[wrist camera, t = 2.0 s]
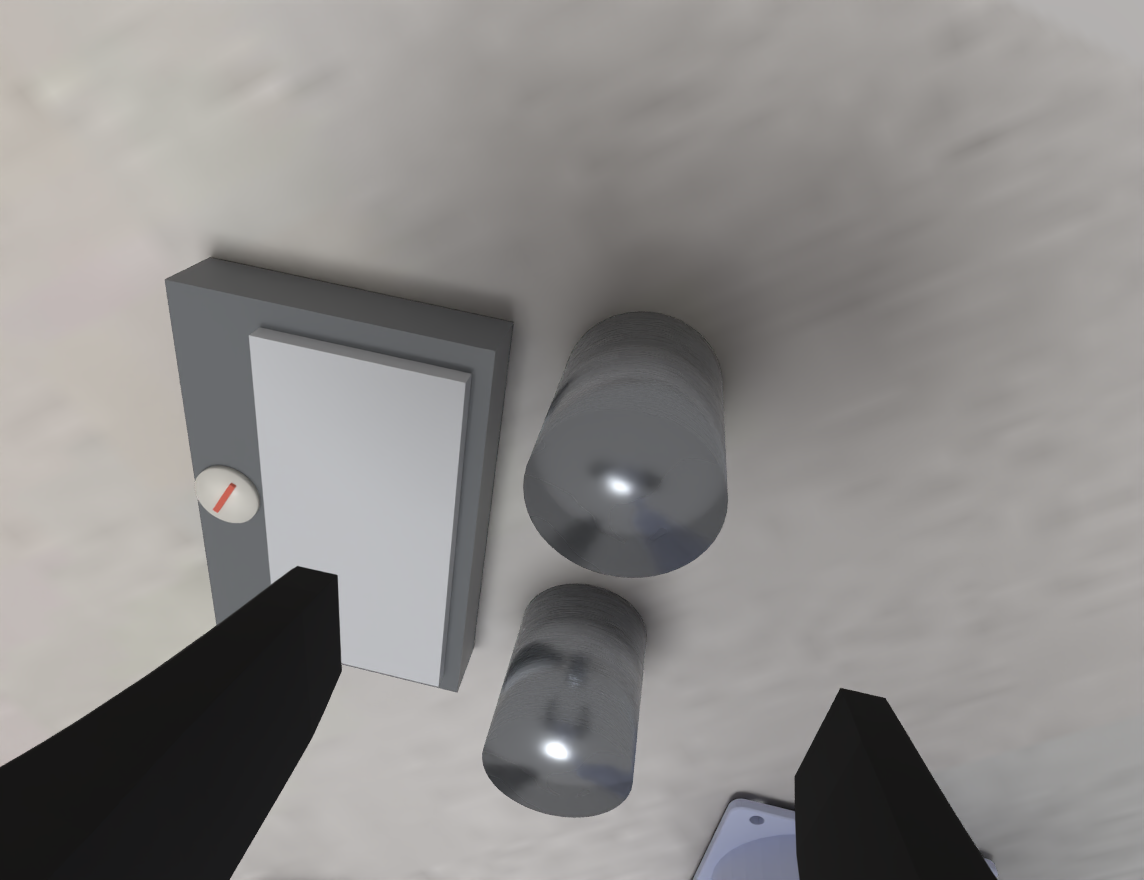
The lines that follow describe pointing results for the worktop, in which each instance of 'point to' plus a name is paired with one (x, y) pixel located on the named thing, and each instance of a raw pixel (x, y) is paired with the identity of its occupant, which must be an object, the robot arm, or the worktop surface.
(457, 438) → the scale
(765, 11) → the worktop surface
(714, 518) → the cylinder
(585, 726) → the cylinder
